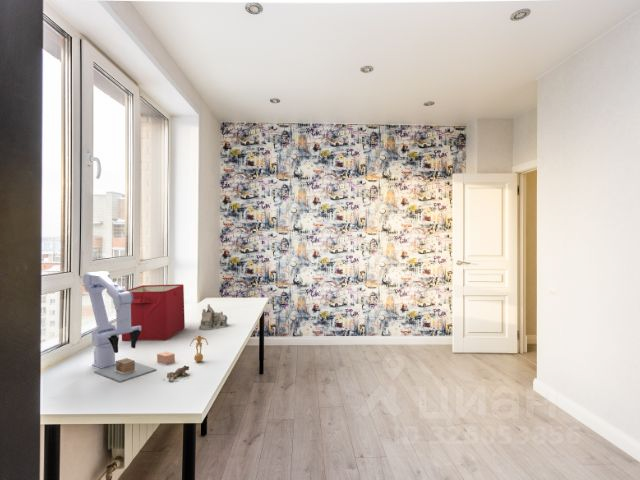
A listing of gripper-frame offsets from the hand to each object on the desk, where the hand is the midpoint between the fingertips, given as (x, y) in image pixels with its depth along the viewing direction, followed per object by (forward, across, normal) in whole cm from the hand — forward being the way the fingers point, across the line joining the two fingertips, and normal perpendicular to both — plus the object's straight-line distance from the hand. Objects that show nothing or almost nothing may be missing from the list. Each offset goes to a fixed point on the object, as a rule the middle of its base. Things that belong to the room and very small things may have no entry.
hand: (124, 350), depth 166 cm
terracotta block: (+10, +17, -4) cm, 20 cm away
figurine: (+10, +26, -17) cm, 33 cm away
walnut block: (+9, 0, 0) cm, 9 cm away
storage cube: (+10, +44, +49) cm, 67 cm away
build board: (+9, 0, 0) cm, 9 cm away
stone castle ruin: (+10, +74, +32) cm, 81 cm away
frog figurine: (+10, +8, -26) cm, 29 cm away
